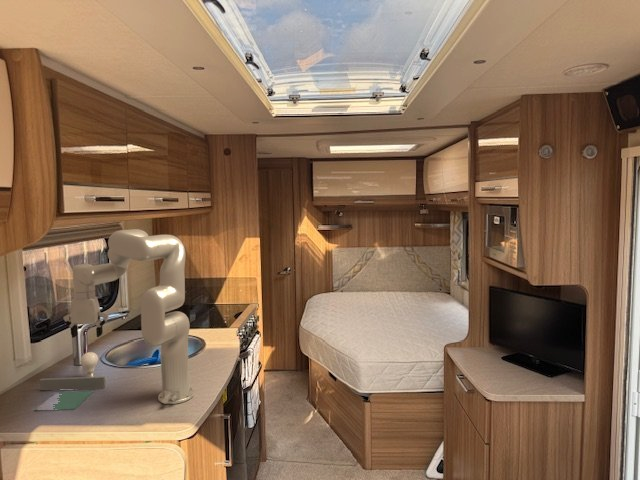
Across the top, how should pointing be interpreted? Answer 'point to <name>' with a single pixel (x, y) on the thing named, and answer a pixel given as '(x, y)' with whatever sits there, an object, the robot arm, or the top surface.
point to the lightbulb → (89, 363)
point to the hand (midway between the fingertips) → (87, 336)
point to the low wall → (73, 383)
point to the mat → (71, 400)
